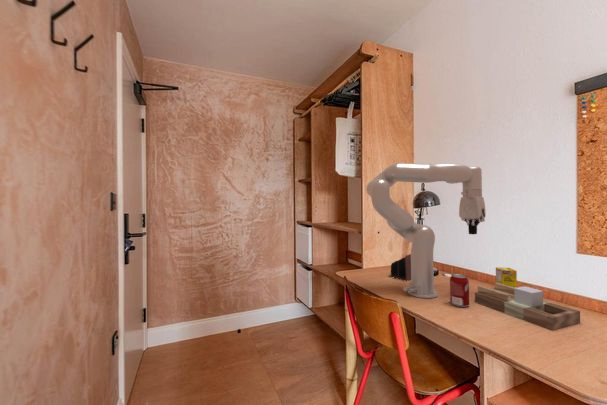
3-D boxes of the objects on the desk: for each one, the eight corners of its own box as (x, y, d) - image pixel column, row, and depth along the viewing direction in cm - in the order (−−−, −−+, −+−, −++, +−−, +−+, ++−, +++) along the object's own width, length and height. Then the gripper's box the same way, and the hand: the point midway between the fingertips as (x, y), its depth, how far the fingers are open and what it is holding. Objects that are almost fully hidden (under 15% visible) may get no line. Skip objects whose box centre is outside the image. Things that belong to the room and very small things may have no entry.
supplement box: (517, 295, 120) (517, 270, 120) (502, 294, 121) (501, 270, 121) (510, 290, 126) (509, 267, 126) (495, 290, 127) (495, 267, 127)
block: (532, 307, 97) (531, 293, 97) (514, 301, 102) (514, 288, 102) (543, 304, 99) (543, 291, 99) (525, 299, 104) (525, 286, 104)
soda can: (462, 309, 106) (462, 278, 106) (446, 303, 112) (446, 274, 112) (473, 306, 109) (472, 276, 109) (456, 300, 115) (456, 272, 115)
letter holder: (425, 274, 156) (425, 250, 156) (406, 281, 144) (406, 255, 144) (409, 271, 164) (409, 248, 164) (390, 277, 152) (389, 252, 152)
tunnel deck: (552, 330, 88) (552, 310, 88) (474, 301, 113) (474, 286, 113) (580, 322, 93) (579, 303, 93) (499, 297, 118) (499, 282, 118)
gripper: (452, 194, 129) (452, 232, 129) (481, 193, 115) (482, 236, 115) (463, 194, 132) (464, 232, 132) (494, 193, 118) (494, 235, 118)
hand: (472, 233), depth 124 cm, fingers closed
